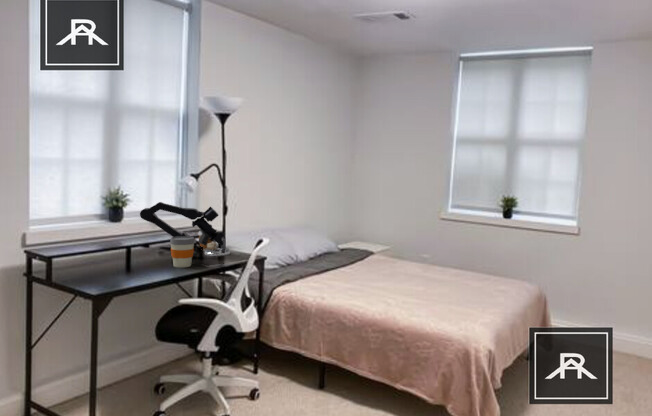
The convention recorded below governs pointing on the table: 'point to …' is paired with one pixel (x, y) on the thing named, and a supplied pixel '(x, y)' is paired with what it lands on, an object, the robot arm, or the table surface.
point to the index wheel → (217, 251)
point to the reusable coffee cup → (182, 250)
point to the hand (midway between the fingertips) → (222, 245)
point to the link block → (211, 246)
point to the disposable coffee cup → (202, 244)
